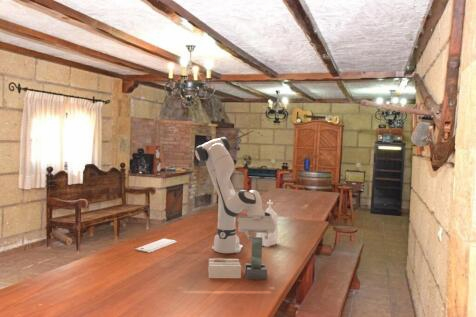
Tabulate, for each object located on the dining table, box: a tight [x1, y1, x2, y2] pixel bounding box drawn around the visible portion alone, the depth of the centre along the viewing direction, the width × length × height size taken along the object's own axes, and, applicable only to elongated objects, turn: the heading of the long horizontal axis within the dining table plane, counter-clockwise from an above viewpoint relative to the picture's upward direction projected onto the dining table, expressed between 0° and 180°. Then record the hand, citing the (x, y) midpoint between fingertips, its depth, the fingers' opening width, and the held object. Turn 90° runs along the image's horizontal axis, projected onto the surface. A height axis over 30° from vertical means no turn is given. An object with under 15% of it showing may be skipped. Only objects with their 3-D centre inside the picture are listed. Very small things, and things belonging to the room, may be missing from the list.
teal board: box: [250, 236, 263, 268], centre depth 210 cm, size 2×5×20 cm, turn 96°
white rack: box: [207, 258, 242, 279], centre depth 212 cm, size 13×16×7 cm
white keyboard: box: [134, 238, 178, 254], centre depth 263 cm, size 31×3×12 cm
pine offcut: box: [213, 257, 225, 262], centre depth 214 cm, size 3×5×7 cm, turn 96°
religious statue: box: [255, 199, 279, 248], centre depth 277 cm, size 17×14×30 cm
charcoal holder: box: [244, 262, 268, 281], centre depth 210 cm, size 10×10×6 cm
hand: (257, 238), depth 217 cm, fingers open, 8 cm apart
